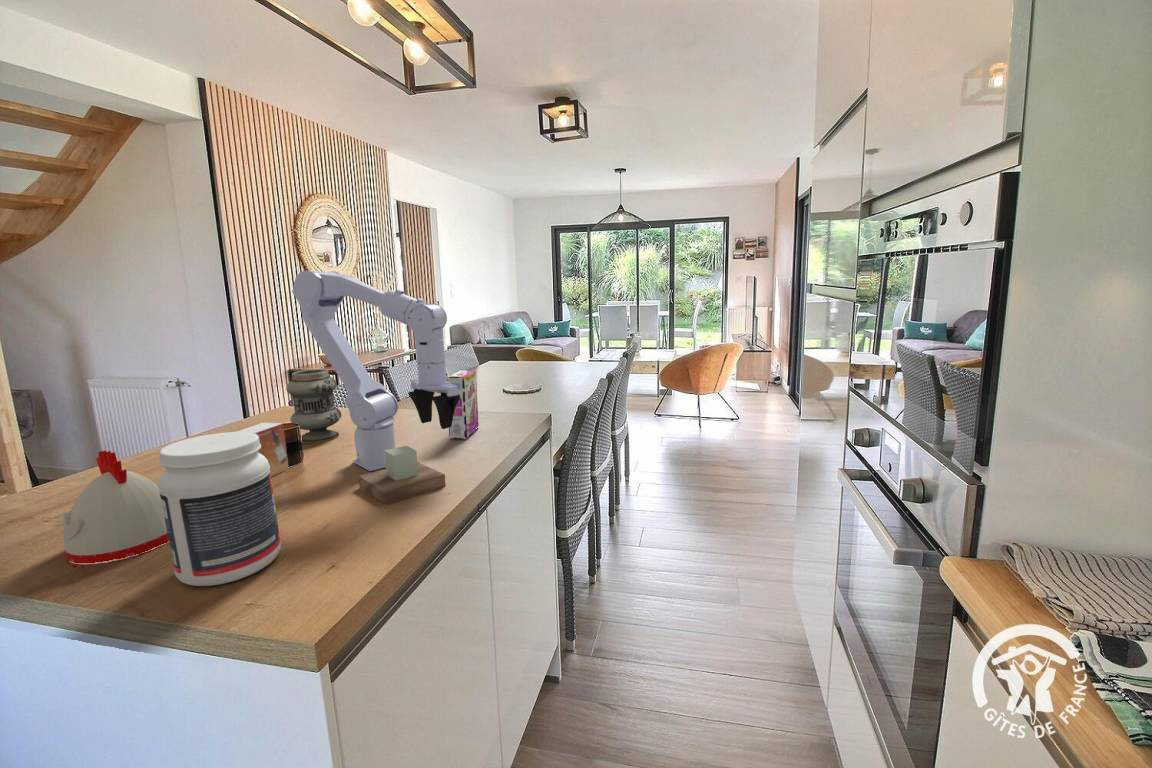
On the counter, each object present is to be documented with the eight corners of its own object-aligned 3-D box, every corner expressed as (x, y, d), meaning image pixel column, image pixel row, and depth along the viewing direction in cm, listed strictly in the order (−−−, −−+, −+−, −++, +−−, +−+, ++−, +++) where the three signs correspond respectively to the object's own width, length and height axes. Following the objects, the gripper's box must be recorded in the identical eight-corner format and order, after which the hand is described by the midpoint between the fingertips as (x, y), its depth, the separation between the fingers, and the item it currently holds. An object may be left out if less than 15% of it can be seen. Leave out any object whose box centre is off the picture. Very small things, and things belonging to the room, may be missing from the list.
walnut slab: (360, 490, 104) (358, 475, 103) (416, 474, 112) (415, 460, 111) (387, 507, 95) (385, 492, 95) (445, 488, 103) (444, 474, 103)
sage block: (386, 474, 103) (384, 450, 102) (408, 469, 106) (406, 445, 105) (395, 480, 100) (393, 455, 99) (418, 475, 103) (416, 450, 102)
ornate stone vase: (300, 433, 144) (291, 368, 140) (347, 429, 147) (340, 366, 143) (287, 446, 132) (278, 376, 129) (338, 442, 135) (330, 373, 132)
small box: (261, 482, 108) (254, 433, 106) (238, 481, 109) (230, 432, 107) (289, 469, 116) (283, 422, 114) (268, 467, 117) (261, 422, 115)
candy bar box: (468, 440, 134) (463, 376, 131) (449, 440, 134) (444, 376, 131) (480, 428, 145) (476, 369, 142) (462, 428, 145) (458, 369, 142)
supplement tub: (301, 546, 80) (286, 430, 77) (235, 595, 68) (213, 459, 64) (228, 541, 82) (209, 428, 79) (150, 588, 70) (124, 456, 66)
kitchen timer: (158, 517, 92) (143, 435, 90) (197, 533, 86) (182, 445, 83) (52, 552, 81) (30, 459, 78) (87, 575, 74) (65, 473, 71)
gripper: (396, 361, 112) (401, 423, 114) (434, 367, 102) (439, 434, 105) (425, 357, 117) (429, 417, 120) (464, 363, 107) (468, 427, 110)
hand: (436, 424), depth 113 cm, fingers open, 7 cm apart
